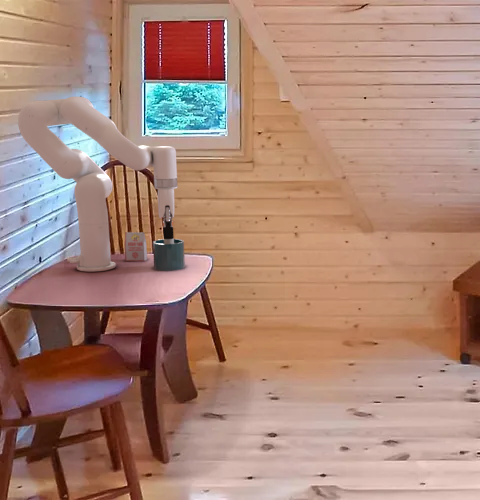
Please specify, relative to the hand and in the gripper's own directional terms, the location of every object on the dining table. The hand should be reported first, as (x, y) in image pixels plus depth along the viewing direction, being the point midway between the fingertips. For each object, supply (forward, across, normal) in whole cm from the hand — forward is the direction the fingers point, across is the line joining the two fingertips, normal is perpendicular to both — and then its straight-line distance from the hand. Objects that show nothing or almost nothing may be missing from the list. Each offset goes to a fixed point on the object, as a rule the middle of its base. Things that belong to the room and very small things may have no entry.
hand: (168, 237), depth 259 cm
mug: (+10, -2, 0) cm, 11 cm away
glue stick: (+4, 0, 0) cm, 4 cm away
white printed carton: (+11, -15, -11) cm, 21 cm away
